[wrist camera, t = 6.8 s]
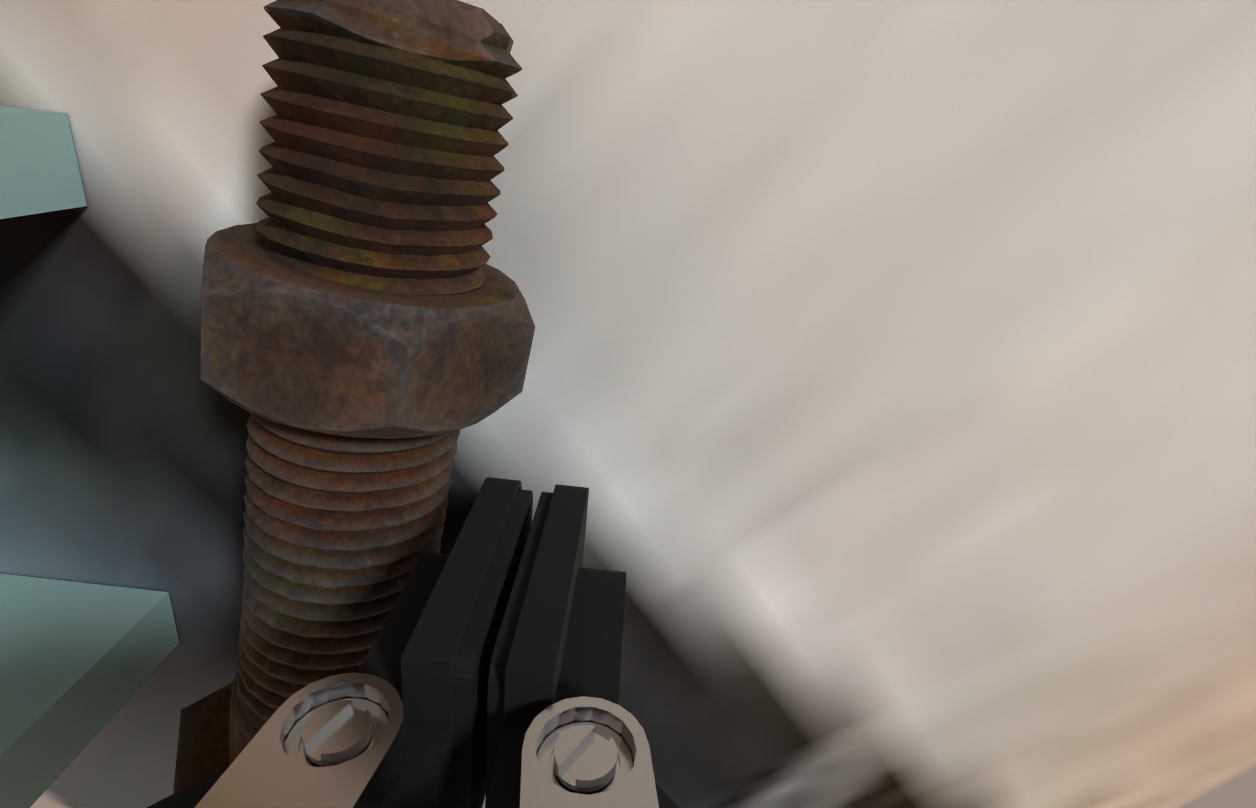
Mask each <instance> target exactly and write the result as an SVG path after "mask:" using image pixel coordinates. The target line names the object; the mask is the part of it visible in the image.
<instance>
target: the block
mask: <svg viewBox="0 0 1256 808" xmlns="http://www.w3.org/2000/svg"><path fill="white" fill-rule="evenodd" d="M84 206H87V203H86V199H85V194H84V189H83V185H82V180H81V175H80V170H79V166H78V161H77V156H76V151H75V147H74V142H73V137H72V133H71V128H70V123H69V118H68V114H67V113H60V112H51V111H43V110H34V109H26V108H17V107H8V106H0V219H5V218H12V217H18V216H25V215H31V214H38V213H45V212H51V211H58V210H64V209H71V208H78V207H84ZM178 644H179V639H178V634H177V629H176V625H175V620H174V615H173V610H172V606H171V601H170V596H169V592H163V591H154V590H145V589H136V588H127V587H118V586H109V585H100V584H91V583H82V582H73V581H64V580H55V579H46V578H37V577H28V576H19V575H10V574H1V573H0V808H30V807H31V805H32V804H33V803H34V802H35V801H36V800H37V799H38V798H39V797H40V796H41V795H42V793H43V792H44V791H45V790H46V789H47V788H48V787H49V786H50V785H51V784H52V782H53V781H54V780H55V779H56V778H57V777H58V776H59V775H60V774H61V773H62V771H63V770H64V769H65V768H66V767H67V766H68V765H69V764H70V763H71V762H72V760H73V759H74V758H75V757H76V756H77V755H78V754H79V753H80V752H81V751H82V749H83V748H84V747H85V746H86V745H87V744H88V743H89V742H90V741H91V740H92V738H93V737H94V736H95V735H96V734H97V733H98V732H99V731H100V730H101V729H102V727H103V726H104V725H105V724H106V723H107V722H108V721H109V720H110V719H111V718H112V716H113V715H114V714H115V713H116V712H117V711H118V710H119V709H120V708H121V707H122V705H123V704H124V703H125V702H126V701H127V700H128V699H129V698H130V697H131V696H132V694H133V693H134V692H135V691H136V690H137V689H138V688H139V687H140V686H141V685H142V683H143V682H144V681H145V680H146V679H147V678H148V677H149V676H150V675H151V674H152V672H153V671H154V670H155V669H156V668H157V667H158V666H159V665H160V664H161V663H162V661H163V660H164V659H165V658H166V657H167V656H168V655H169V654H170V653H171V652H172V650H173V649H174V648H175V647H176V646H177V645H178Z"/></svg>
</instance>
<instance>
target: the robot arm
mask: <svg viewBox="0 0 1256 808" xmlns="http://www.w3.org/2000/svg"><path fill="white" fill-rule="evenodd" d="M588 493H589V488H585V487H575V486H566V485H556V486H555V488H554V492H553V493H549V492H542V493H541V496H540V499H539V502H538V505H537V509H536V512H535V515H534V519H533V522H532V504H533V492H532V491H529V490H522V486H521V481H518V480H508V479H499V478H489V477H488V478H486V479H485V481H484V483H483V485H482V487H481V490H480V492H479V494H478V496H477V498H476V500H475V502H474V504H473V506H472V509H471V511H470V513H469V515H468V517H467V519H466V521H465V523H464V525H463V528H462V530H461V532H460V534H459V536H458V538H457V540H456V542H455V544H454V547H453V549H452V551H451V553H450V554H446V553H436V552H427V551H426V552H424V553H422V555H421V556H420V558H419V559H418V561H417V563H416V565H415V567H414V568H413V570H412V572H411V574H410V576H409V578H408V579H407V581H406V583H405V585H404V587H403V589H402V591H401V592H400V594H399V596H398V598H397V600H396V602H395V604H394V605H393V607H392V609H391V611H390V613H389V615H388V616H387V618H386V620H385V622H384V624H383V626H382V628H381V629H380V631H379V633H378V635H377V637H376V639H375V641H374V642H373V644H372V646H371V648H370V650H369V652H368V654H367V655H366V657H365V659H364V661H363V663H362V665H361V666H360V668H359V670H358V672H357V673H346V674H339V675H332V676H329V677H326V678H324V679H321V680H318V681H315V682H312V683H311V684H309V685H307V686H306V687H304V688H302V689H301V690H299V691H297V692H296V693H294V694H293V695H292V696H291V697H290V698H289V699H287V700H286V701H285V702H284V703H283V704H282V705H281V706H280V707H279V708H278V709H277V710H276V711H275V713H274V714H273V715H272V716H271V717H270V719H269V720H268V721H267V722H266V723H265V725H264V726H263V727H262V728H261V729H260V730H259V732H258V733H257V734H256V735H255V736H254V738H253V739H252V740H251V741H250V742H249V744H248V745H247V746H246V747H245V748H244V750H243V751H242V752H241V753H240V754H239V755H238V757H237V758H236V759H235V760H234V761H233V763H232V764H231V765H230V766H229V767H227V768H225V769H223V770H221V771H219V772H217V773H215V774H213V775H211V776H209V777H207V778H205V779H203V780H201V781H199V782H197V783H195V784H193V785H191V786H189V787H187V788H185V789H183V790H181V791H179V792H177V793H175V794H173V795H171V796H169V797H167V798H165V799H163V800H161V801H159V802H157V803H155V804H153V805H151V806H149V807H147V808H482V805H483V801H484V797H485V793H486V806H485V808H680V807H679V806H678V805H677V804H676V803H675V802H674V801H673V800H672V799H671V798H670V797H669V796H668V795H667V794H666V793H665V792H664V791H663V790H662V789H661V788H660V787H659V786H658V785H657V784H656V783H655V779H654V773H653V767H652V761H651V755H650V748H649V744H648V741H647V738H646V735H645V732H644V729H643V728H642V727H641V725H640V724H639V723H638V721H637V720H636V719H635V718H634V716H633V715H632V714H630V713H629V712H628V711H626V710H625V709H624V708H622V707H621V706H619V705H618V699H619V683H620V667H621V651H622V634H623V618H624V602H625V586H626V572H619V571H609V570H600V569H590V568H582V563H583V552H584V540H585V529H586V517H587V506H588ZM531 524H532V525H531Z"/></svg>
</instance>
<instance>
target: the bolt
mask: <svg viewBox="0 0 1256 808" xmlns="http://www.w3.org/2000/svg"><path fill="white" fill-rule="evenodd" d="M264 9H265V11H266V12H267V13H268V14H269V15H270V16H271V17H272V19H273V20H274V21H275V22H276V23H277V24H278V25H279V26H280V29H278V30H276V31H273V32H271V33H269V34H266V35H264V36H263V37H264V39H265V40H266V41H267V42H268V44H269V45H270V46H271V48H272V49H273V50H274V52H275V53H276V54H277V55H278V57H279V59H276V60H274V61H271V62H269V63H267V64H264V65H262V66H263V67H264V69H265V70H266V71H267V73H268V74H269V75H270V76H271V78H272V79H273V80H274V82H275V83H276V84H277V86H278V87H276V88H273V89H271V90H269V91H266V92H264V93H261V95H262V97H263V98H264V99H265V100H266V102H267V103H268V104H269V105H270V106H271V108H272V109H273V110H274V111H275V112H276V114H277V115H276V116H273V117H270V118H268V119H265V120H262V121H260V123H261V125H262V126H263V127H264V128H265V129H266V131H267V132H268V133H269V134H270V135H271V137H272V138H273V139H274V140H275V142H273V143H271V144H268V145H266V146H264V147H262V148H261V149H260V150H259V152H260V153H261V154H262V155H263V156H264V157H265V159H266V160H267V161H268V162H269V163H270V164H271V165H272V166H273V168H271V169H268V170H266V171H264V172H262V173H260V174H258V175H257V176H258V177H259V178H260V179H261V180H262V182H263V183H264V184H265V185H266V186H267V188H268V189H269V190H270V191H271V193H269V194H267V195H265V196H262V197H260V198H259V200H258V201H257V203H256V204H257V205H258V206H259V207H260V208H261V209H262V210H263V211H264V212H265V213H266V214H267V215H268V216H269V217H268V218H266V219H264V220H261V221H259V222H258V223H254V224H245V225H236V226H232V227H229V228H226V229H223V230H220V231H216V232H215V233H214V234H213V235H212V236H211V237H210V238H208V239H207V242H206V246H205V255H204V263H203V278H202V293H201V380H202V381H203V382H205V383H206V384H207V385H209V386H210V387H211V388H213V389H214V390H215V391H217V392H218V393H220V394H221V395H222V396H224V397H225V398H226V399H228V400H229V401H230V402H232V403H234V404H236V405H237V406H239V407H241V408H243V409H245V410H246V411H248V412H249V413H250V414H251V415H250V417H249V418H248V422H247V429H248V433H249V436H248V437H247V442H246V448H247V451H248V456H247V458H246V459H245V466H246V469H247V475H246V477H245V483H246V488H247V492H246V493H245V495H244V500H245V505H246V509H245V511H244V513H243V516H244V522H245V527H244V529H243V537H244V543H245V544H244V546H243V555H242V560H243V562H244V564H245V566H244V571H243V578H244V581H243V595H242V614H241V620H240V633H239V642H238V653H239V658H238V672H237V675H236V677H235V680H234V682H232V683H231V684H229V685H227V686H225V687H223V688H221V689H219V690H217V691H216V692H214V693H212V694H210V695H208V696H206V697H204V698H203V699H201V700H199V701H197V702H195V703H193V704H191V705H190V706H188V707H186V708H184V709H182V710H181V717H180V728H179V739H178V749H177V760H176V770H175V781H174V792H173V794H175V793H177V792H179V791H181V790H183V789H185V788H187V787H189V786H191V785H193V784H195V783H197V782H199V781H201V780H203V779H205V778H207V777H209V776H211V775H213V774H215V773H217V772H219V771H221V770H223V769H225V768H227V767H229V766H230V765H231V764H232V763H233V761H234V760H235V759H236V758H237V757H238V755H239V754H240V753H241V752H242V751H243V750H244V748H245V747H246V746H247V745H248V744H249V742H250V741H251V740H252V739H253V738H254V736H255V735H256V734H257V733H258V732H259V730H260V729H261V728H262V727H263V726H264V725H265V723H266V722H267V721H268V720H269V719H270V717H271V716H272V715H273V714H274V713H275V711H276V710H277V709H278V708H279V707H280V706H281V705H282V704H283V703H284V702H285V701H286V700H287V699H289V698H290V697H291V696H292V695H293V694H294V693H296V692H297V691H299V690H301V689H302V688H304V687H306V686H307V685H309V684H311V683H312V682H315V681H318V680H321V679H324V678H326V677H329V676H332V675H339V674H346V673H357V672H358V670H359V668H360V666H361V665H362V663H363V661H364V659H365V657H366V655H367V654H368V652H369V650H370V648H371V646H372V644H373V642H374V641H375V639H376V637H377V635H378V633H379V631H380V629H381V628H382V626H383V624H384V622H385V620H386V618H387V616H388V615H389V613H390V611H391V609H392V607H393V605H394V604H395V602H396V600H397V598H398V596H399V594H400V592H401V591H402V589H403V587H404V585H405V583H406V581H407V579H408V578H409V576H410V574H411V572H412V570H413V568H414V567H415V565H416V563H417V561H418V559H419V558H420V556H421V555H422V553H424V552H426V551H427V552H436V553H439V552H440V548H441V536H442V534H443V531H444V526H443V524H444V522H445V518H446V509H447V505H448V491H449V488H450V486H451V483H452V478H451V472H452V470H453V468H454V464H455V462H454V458H453V457H454V456H455V454H456V452H457V439H458V436H459V434H460V429H463V428H465V427H468V426H471V425H473V424H476V423H478V422H479V421H481V420H483V419H484V418H486V417H487V416H489V415H491V414H492V413H494V412H495V411H497V410H498V409H499V408H501V407H502V406H503V405H505V404H506V403H507V402H509V401H510V400H511V399H513V398H514V397H515V396H517V395H518V394H519V393H521V392H522V389H523V384H524V379H525V374H526V369H527V365H528V360H529V355H530V350H531V345H532V340H533V335H534V330H535V325H534V323H533V320H532V317H531V315H530V312H529V309H528V307H527V304H526V301H525V299H524V297H523V295H522V294H521V292H520V290H519V289H518V287H517V285H516V283H515V282H514V281H513V280H512V279H510V278H509V277H508V276H506V275H505V274H504V273H502V272H501V271H500V270H498V269H496V268H494V267H492V266H489V265H487V264H485V263H487V261H488V260H489V258H490V256H489V254H488V253H487V252H486V251H485V249H484V248H483V247H482V245H483V244H485V243H486V242H488V241H490V240H491V239H493V237H492V231H491V230H490V229H489V228H488V227H487V226H486V225H485V223H486V222H488V221H490V220H491V219H493V218H494V217H495V216H496V215H497V213H496V212H495V211H494V209H493V208H492V207H491V206H490V205H489V204H488V203H487V202H489V201H491V200H492V199H494V198H495V197H497V196H499V195H500V190H499V189H498V188H497V187H496V186H495V185H494V184H493V183H492V182H491V181H490V180H491V179H492V178H494V177H495V176H497V175H498V174H500V173H501V172H503V171H504V167H503V166H502V165H501V164H500V163H499V161H498V160H497V159H496V158H495V157H494V155H495V154H497V153H498V152H500V151H501V150H502V149H504V148H505V147H507V146H508V142H507V141H506V140H505V139H504V138H503V136H502V135H501V134H500V133H499V132H498V129H500V128H501V127H502V126H504V125H505V124H506V123H508V122H509V121H511V120H512V119H513V117H512V116H511V115H510V114H509V113H508V112H507V110H506V109H505V108H504V107H503V106H502V105H501V104H503V103H505V102H507V101H509V100H511V99H513V98H515V97H516V96H518V95H517V94H516V92H515V91H514V90H513V88H512V87H511V86H510V84H509V83H508V82H507V80H506V79H505V78H507V77H509V76H511V75H513V74H515V73H517V72H519V71H520V70H522V68H521V67H520V66H519V64H518V63H517V62H516V61H515V59H514V58H513V57H512V56H511V55H510V51H511V48H512V45H513V42H514V41H513V40H512V39H511V37H510V36H509V34H508V33H507V31H506V30H505V28H504V27H503V25H502V24H500V23H498V21H497V20H495V19H494V18H493V17H492V16H491V15H490V14H488V13H487V12H486V11H485V10H484V9H481V8H478V7H476V6H473V5H470V4H467V3H464V2H461V1H458V0H277V1H275V2H272V3H270V4H268V5H266V6H264Z"/></svg>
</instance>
